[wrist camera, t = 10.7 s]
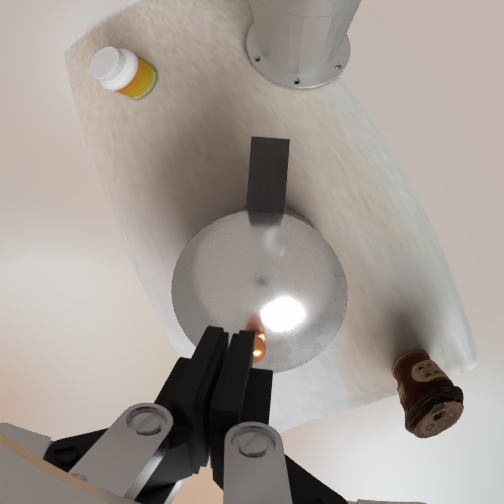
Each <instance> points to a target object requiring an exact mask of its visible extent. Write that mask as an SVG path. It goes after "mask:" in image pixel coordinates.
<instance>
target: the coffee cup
mask: <svg viewBox="0 0 504 504" xmlns="http://www.w3.org/2000/svg"><path fill="white" fill-rule="evenodd" d="M392 374H393V376H394V378H395V379H396V380H397V382H398V388H397V390H398V393H399V397H400V403H401V405H402V406H403V408H404V411H405V428H406V430H408V431H409V432H411V433H413V434H415V436H417V437H419V438H428V437H431V436H435V435H438V434H439V433H441V432H442V431H444V430H446V429H447V428H449V427H451V426H452V425H454V424H455V423H456V422H457V420H458V419H459V418H460V416H461V414H462V412H463V408H464V406H463V392H462V390H461V389H460V388H459V387H457V386H454V385H453V383H452V381H451V380H450V379H449V378H448V377H447V376H446V374H445V373H444V372H443V371H442V370H441V369H440V368H439V367H438V365H437V364H436V363H435V362H433V361H432V360H430V357H429V356H428V354H427V353H425V352H424V351H422V350H415V351H411V352H408V353H406V354H404V355H403V356H401V357H400V358H398V359H397V361H396V363H395V364H394V366H393V369H392Z"/></svg>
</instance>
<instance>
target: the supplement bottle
mask: <svg viewBox="0 0 504 504" xmlns="http://www.w3.org/2000/svg"><path fill="white" fill-rule="evenodd" d="M89 73H90V75H91V76H92V77H93V78H95V79H97V81H98V83H99V85H100V86H101V87H102V88H104V89H106V90H108V91H111V92H113V93H116V94H118V95H121V96H123V97H125V98H128V99H131V100H136V101H137V100H142V99H145V98H147V97H148V96H150V95H151V94H152V93H153V92H154V90H155V89H156V87H157V85H158V81H159V75H158V72H157V70H156V69H155V67H153V66H152V65H151V64H149V63H148V62H147V61H145V60H144V59H142V58H141V57H139V56H138V55H137V54H135V53H134V52H132V51H131V50H129V49H125V48H119V49H117V48H115V47H112V46H107V47H104V48H102V49H100V50H99V51H97V52H96V53H95V55H94V56H93V57H92V59H91V61H90V64H89Z"/></svg>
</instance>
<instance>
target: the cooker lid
mask: <svg viewBox="0 0 504 504" xmlns="http://www.w3.org/2000/svg"><path fill="white" fill-rule="evenodd" d="M289 143H290V139H278V138H265V137H252V138H251V152H250V165H249V179H248V193H247V207H246V211H241V212H237V213H233V214H229V215H227V216H224V217H222V218H219V219H218V220H216V221H214V222H212V223H211V224H209V225H207V226H206V227H205V228H203V229H202V230H201V231H200V232H198V233H197V234H196V235H195V236H194V237H193V238H192V239H191V240H190V241H189V242H188V244H187V245H186V247H185V248H184V249H183V251H182V253H181V255H180V257H179V259H178V261H177V263H176V266H175V269H174V273H173V278H172V291H171V292H172V302H173V307H174V311H175V314H176V317H177V319H178V322H179V324H180V326H181V328H182V330H183V331H184V333H185V334H186V336H187V337H188V338H189V340H190V341H191V342H192V343H193V344H194V345H195V346H196V347H197V346H198V344H199V342H200V340H201V337H202V335H203V333H204V331H205V329H206V327H207V326H215V327H222V328H224V332H229V344H230V341H231V338H232V335H233V333H237V334H239V331H240V330H246V331H255V344H254V355H253V365H252V368H259V369H268V370H273V373H278V372H283V371H287V370H290V369H293V368H296V367H298V366H301V365H303V364H305V363H307V362H308V361H310V360H312V359H313V358H314V357H316V356H317V355H319V354H320V353H321V352H322V351H323V350H324V349H325V348H326V347H327V346H328V345H329V344H330V342H331V341H332V340H333V339H334V337H335V336H336V334H337V332H338V331H339V329H340V326H341V324H342V322H343V319H344V316H345V312H346V307H347V283H346V277H345V274H344V271H343V268H342V265H341V263H340V261H339V259H338V257H337V255H336V254H335V252H334V251H333V249H332V248H331V246H330V245H329V243H328V242H327V241H326V240H325V239H324V238H323V237H322V236H321V235H320V234H319V233H318V232H317V231H316V230H314V229H313V228H312V227H311V226H309V225H307V224H306V223H304V222H303V221H301V220H299V219H297V218H294V217H292V216H290V215H287V214H284V205H285V193H286V181H287V169H288V156H289Z"/></svg>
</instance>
